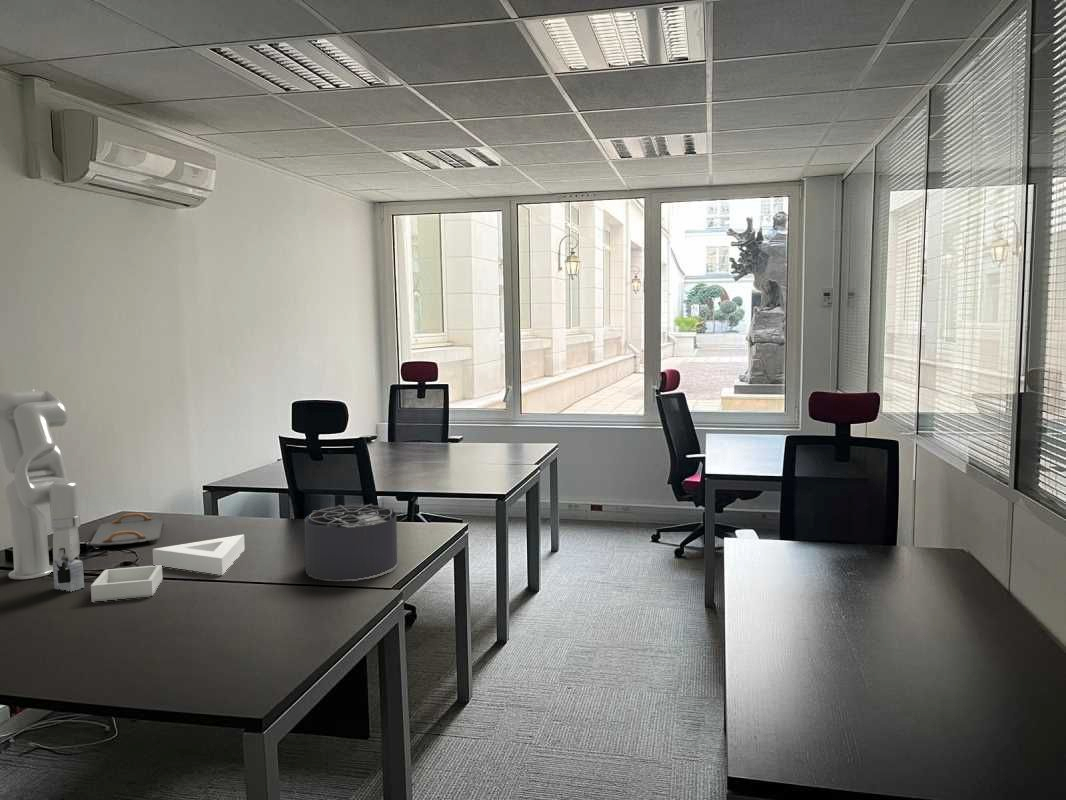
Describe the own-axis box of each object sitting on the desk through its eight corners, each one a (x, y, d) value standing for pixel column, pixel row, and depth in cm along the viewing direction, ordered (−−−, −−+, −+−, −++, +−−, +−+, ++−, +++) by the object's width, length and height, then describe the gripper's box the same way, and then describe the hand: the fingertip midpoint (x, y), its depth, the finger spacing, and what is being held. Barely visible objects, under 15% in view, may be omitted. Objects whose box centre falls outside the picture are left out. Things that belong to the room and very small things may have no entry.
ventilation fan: (412, 505, 261) (370, 526, 232) (413, 558, 263) (372, 585, 234) (333, 500, 269) (284, 520, 240) (335, 552, 271) (286, 578, 242)
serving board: (101, 529, 307) (100, 514, 306) (165, 523, 316) (164, 508, 315) (87, 554, 271) (86, 537, 271) (159, 546, 280) (159, 530, 280)
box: (105, 585, 235) (105, 569, 235) (162, 580, 240) (161, 564, 239) (91, 602, 220) (90, 585, 220) (152, 597, 225) (151, 580, 224)
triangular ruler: (153, 567, 256) (152, 549, 255) (212, 547, 280) (211, 530, 279) (222, 577, 244) (221, 558, 244) (278, 555, 268) (277, 538, 268)
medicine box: (84, 588, 233) (83, 560, 232) (70, 592, 229) (69, 564, 228) (68, 584, 236) (66, 557, 236) (53, 589, 232) (52, 561, 232)
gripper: (60, 517, 238) (64, 571, 239) (42, 530, 221) (46, 587, 223) (87, 515, 240) (91, 569, 241) (71, 527, 224) (75, 585, 225)
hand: (69, 578), depth 232 cm, fingers open, 9 cm apart
